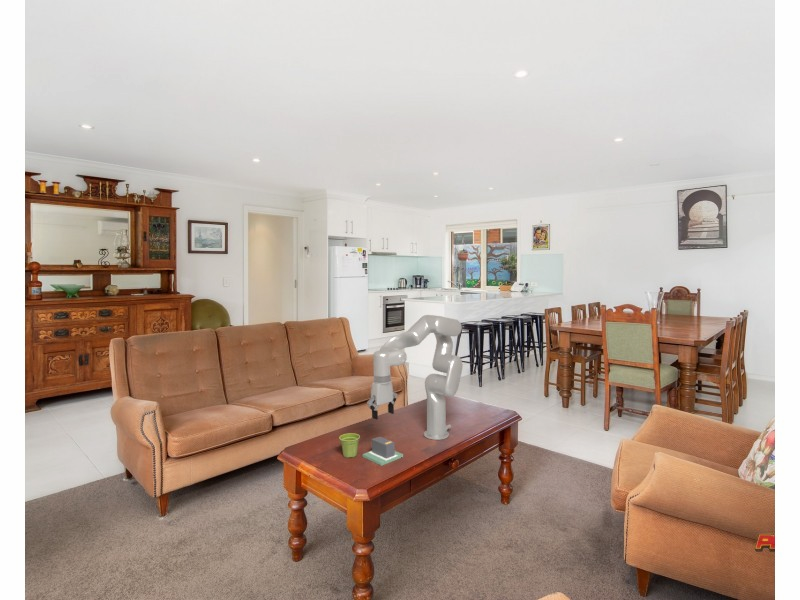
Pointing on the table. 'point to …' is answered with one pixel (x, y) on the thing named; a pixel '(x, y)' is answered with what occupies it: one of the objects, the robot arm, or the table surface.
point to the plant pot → (349, 444)
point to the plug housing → (383, 447)
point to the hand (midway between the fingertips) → (383, 415)
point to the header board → (381, 458)
